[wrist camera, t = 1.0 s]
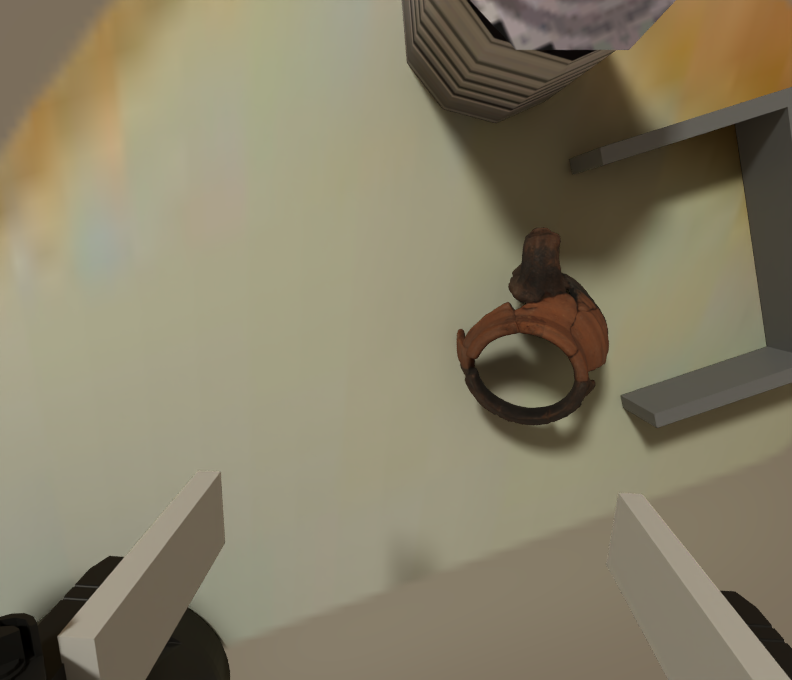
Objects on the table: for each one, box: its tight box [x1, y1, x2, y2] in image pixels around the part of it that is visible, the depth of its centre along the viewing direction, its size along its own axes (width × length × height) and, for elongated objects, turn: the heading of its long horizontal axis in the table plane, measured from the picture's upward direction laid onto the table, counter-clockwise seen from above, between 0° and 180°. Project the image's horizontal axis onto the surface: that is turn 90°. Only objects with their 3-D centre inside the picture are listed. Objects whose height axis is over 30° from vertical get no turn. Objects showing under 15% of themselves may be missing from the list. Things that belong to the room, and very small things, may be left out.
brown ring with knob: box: [457, 227, 609, 425], centre depth 31 cm, size 12×10×8 cm
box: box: [569, 87, 792, 428], centre depth 32 cm, size 12×18×4 cm
